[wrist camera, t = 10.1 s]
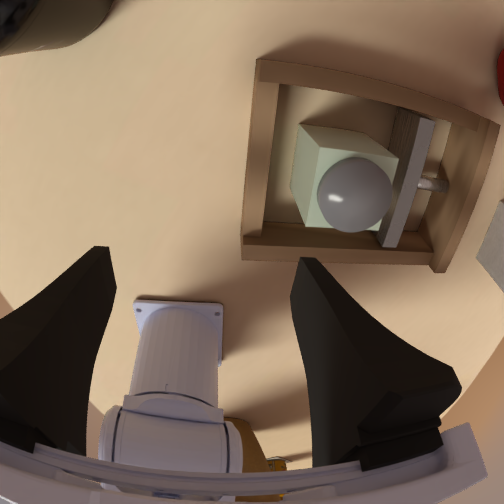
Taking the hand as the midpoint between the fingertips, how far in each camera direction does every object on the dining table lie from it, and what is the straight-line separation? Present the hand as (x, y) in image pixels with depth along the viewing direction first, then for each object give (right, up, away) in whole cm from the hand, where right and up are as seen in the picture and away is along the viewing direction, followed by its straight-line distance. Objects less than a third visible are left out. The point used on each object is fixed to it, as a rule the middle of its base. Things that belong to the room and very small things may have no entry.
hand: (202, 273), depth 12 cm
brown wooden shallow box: (+10, +7, +9) cm, 15 cm away
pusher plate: (+14, +7, +9) cm, 18 cm away
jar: (+7, +7, +8) cm, 13 cm away
